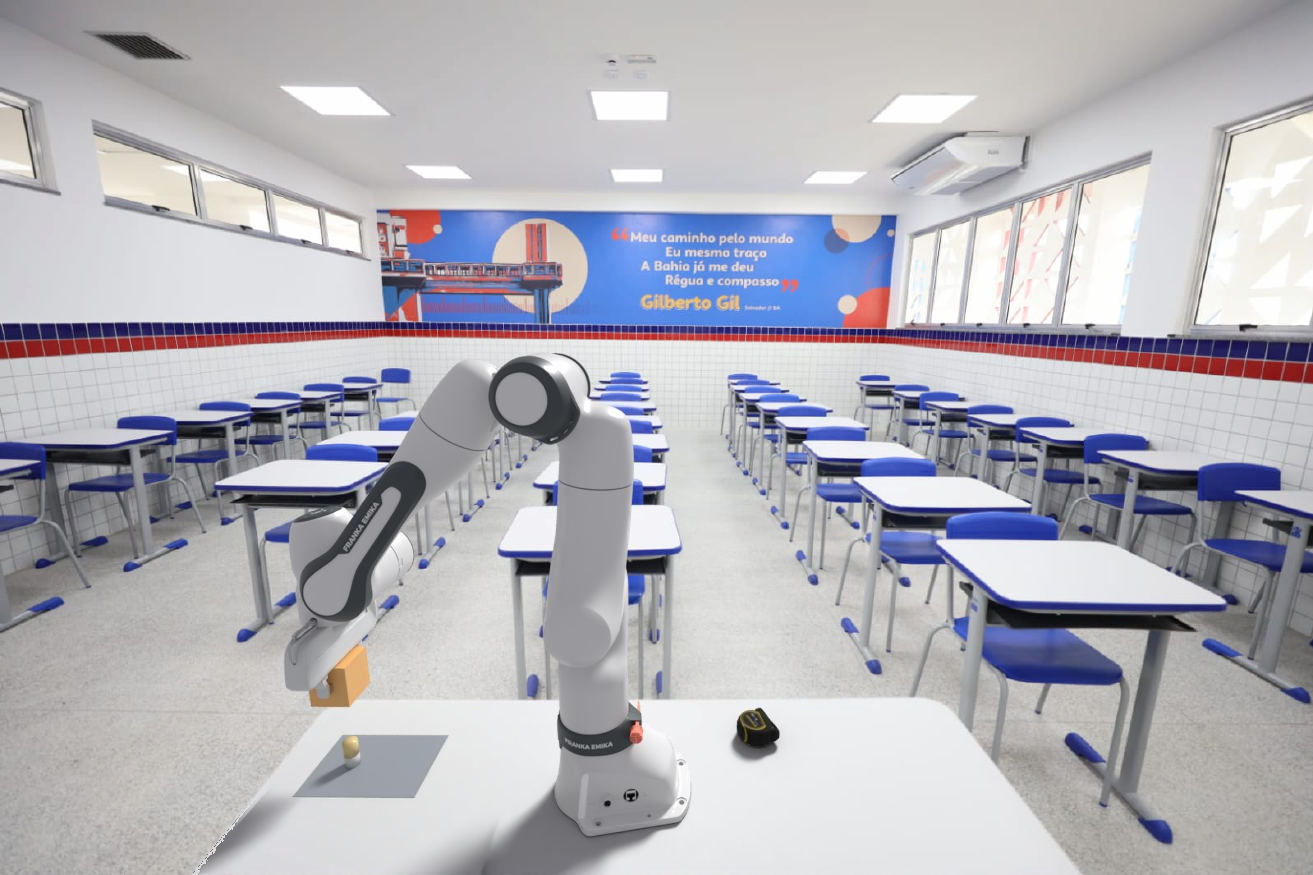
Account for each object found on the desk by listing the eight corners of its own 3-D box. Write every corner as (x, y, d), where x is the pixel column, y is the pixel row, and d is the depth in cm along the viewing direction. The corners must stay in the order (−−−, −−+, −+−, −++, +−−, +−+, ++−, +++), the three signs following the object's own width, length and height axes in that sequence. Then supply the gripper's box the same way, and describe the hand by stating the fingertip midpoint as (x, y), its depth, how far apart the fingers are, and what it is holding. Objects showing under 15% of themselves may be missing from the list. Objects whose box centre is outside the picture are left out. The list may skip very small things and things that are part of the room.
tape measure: (781, 745, 102) (781, 727, 101) (746, 754, 100) (747, 736, 99) (763, 721, 108) (763, 703, 107) (730, 729, 106) (730, 711, 105)
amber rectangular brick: (370, 682, 98) (365, 646, 97) (349, 707, 92) (344, 668, 90) (334, 682, 98) (329, 645, 97) (311, 706, 92) (305, 668, 91)
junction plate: (449, 742, 104) (446, 713, 103) (415, 805, 90) (411, 772, 89) (343, 741, 105) (339, 713, 104) (293, 804, 91) (288, 772, 90)
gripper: (308, 639, 81) (320, 723, 84) (380, 577, 101) (388, 647, 104) (265, 639, 82) (279, 723, 84) (346, 577, 102) (355, 646, 104)
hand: (340, 680), depth 94 cm, fingers closed on amber rectangular brick, 6 cm apart
